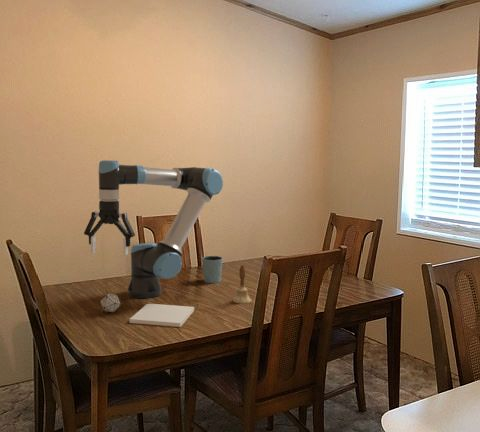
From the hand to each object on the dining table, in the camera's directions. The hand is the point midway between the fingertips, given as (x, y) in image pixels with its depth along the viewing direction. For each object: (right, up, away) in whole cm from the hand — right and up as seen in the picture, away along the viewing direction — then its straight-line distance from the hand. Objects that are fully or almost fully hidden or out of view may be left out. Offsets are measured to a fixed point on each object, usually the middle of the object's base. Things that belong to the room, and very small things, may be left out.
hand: (109, 253), depth 201 cm
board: (+21, -25, 0) cm, 33 cm away
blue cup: (+38, -18, +54) cm, 68 cm away
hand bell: (+52, -23, +23) cm, 61 cm away
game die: (0, -24, +3) cm, 24 cm away
